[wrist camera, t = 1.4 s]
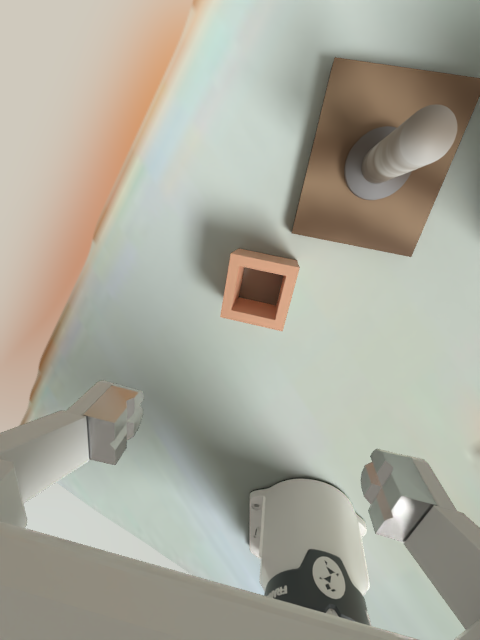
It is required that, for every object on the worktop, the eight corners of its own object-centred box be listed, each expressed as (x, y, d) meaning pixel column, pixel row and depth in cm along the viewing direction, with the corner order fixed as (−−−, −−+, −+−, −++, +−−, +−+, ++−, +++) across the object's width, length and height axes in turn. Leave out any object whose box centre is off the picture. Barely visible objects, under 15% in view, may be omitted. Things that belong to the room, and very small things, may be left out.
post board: (405, 255, 27) (472, 273, 17) (291, 232, 28) (295, 238, 18) (476, 86, 21) (627, -20, 12) (332, 65, 22) (368, -48, 13)
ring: (282, 314, 31) (282, 331, 26) (229, 303, 32) (220, 316, 27) (296, 260, 29) (299, 267, 24) (238, 248, 29) (230, 253, 24)
